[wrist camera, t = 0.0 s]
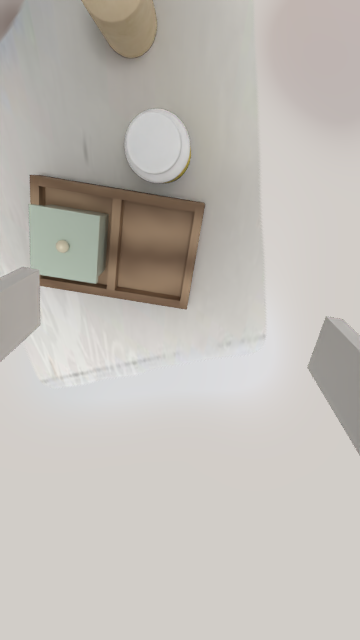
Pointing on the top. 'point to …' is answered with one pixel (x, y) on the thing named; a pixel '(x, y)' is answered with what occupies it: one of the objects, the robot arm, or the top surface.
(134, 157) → the pill bottle
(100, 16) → the candle
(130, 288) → the organizer tray
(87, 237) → the trinket box
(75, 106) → the top surface
